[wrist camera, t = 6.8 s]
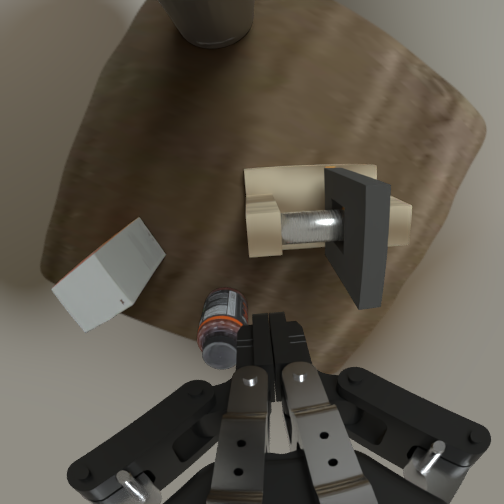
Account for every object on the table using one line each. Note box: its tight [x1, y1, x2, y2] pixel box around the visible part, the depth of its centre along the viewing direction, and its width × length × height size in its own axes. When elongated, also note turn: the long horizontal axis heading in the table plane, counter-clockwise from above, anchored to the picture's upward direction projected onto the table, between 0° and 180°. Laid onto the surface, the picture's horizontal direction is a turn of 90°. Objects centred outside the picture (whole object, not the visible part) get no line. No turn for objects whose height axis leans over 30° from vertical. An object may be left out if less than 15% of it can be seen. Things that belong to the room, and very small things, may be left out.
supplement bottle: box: [197, 287, 248, 369], centre depth 36 cm, size 6×6×11 cm
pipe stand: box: [244, 164, 412, 257], centre depth 31 cm, size 10×16×11 cm, turn 94°
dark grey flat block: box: [324, 168, 391, 310], centre depth 27 cm, size 10×2×12 cm, turn 4°
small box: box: [52, 217, 166, 333], centre depth 32 cm, size 8×6×13 cm
